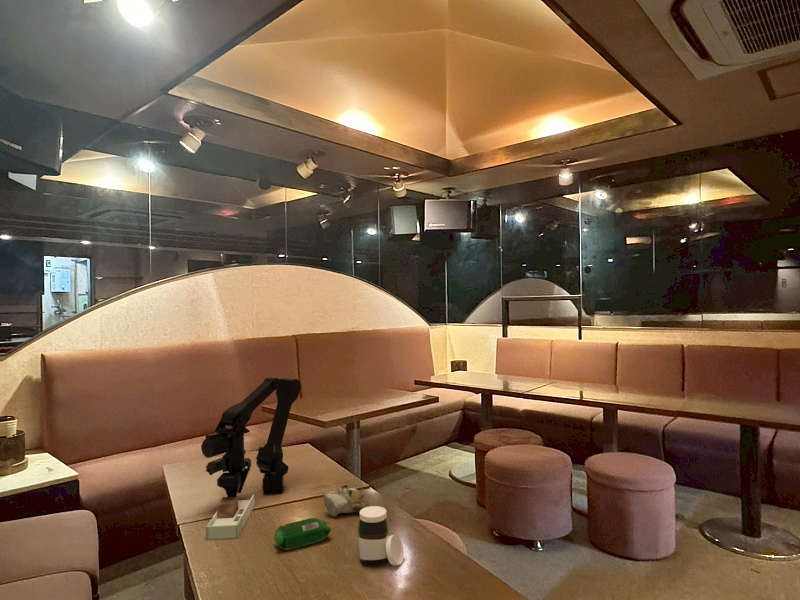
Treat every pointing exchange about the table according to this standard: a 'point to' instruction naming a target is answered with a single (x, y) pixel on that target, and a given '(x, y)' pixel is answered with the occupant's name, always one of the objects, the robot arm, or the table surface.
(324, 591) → the table surface
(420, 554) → the table surface
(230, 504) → the walnut block
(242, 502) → the tray
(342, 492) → the ceramic sculpture
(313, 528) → the snack package
